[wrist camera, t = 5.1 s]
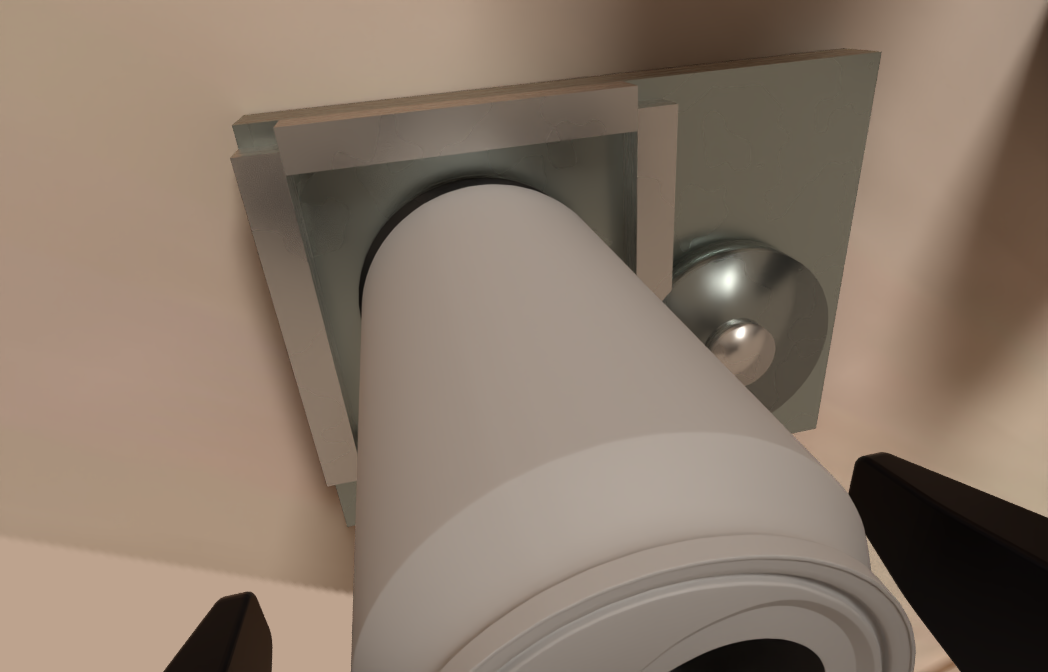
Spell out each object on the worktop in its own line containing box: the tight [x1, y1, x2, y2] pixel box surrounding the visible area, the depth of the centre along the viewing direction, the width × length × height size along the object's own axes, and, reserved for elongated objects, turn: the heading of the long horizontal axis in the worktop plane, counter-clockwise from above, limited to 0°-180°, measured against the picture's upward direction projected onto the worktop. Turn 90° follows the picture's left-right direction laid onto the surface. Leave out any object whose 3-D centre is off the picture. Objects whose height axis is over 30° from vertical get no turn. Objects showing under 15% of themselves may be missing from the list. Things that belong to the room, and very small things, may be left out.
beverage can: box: [351, 184, 916, 672], centre depth 12 cm, size 6×6×12 cm
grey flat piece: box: [230, 48, 881, 527], centre depth 18 cm, size 16×12×3 cm
